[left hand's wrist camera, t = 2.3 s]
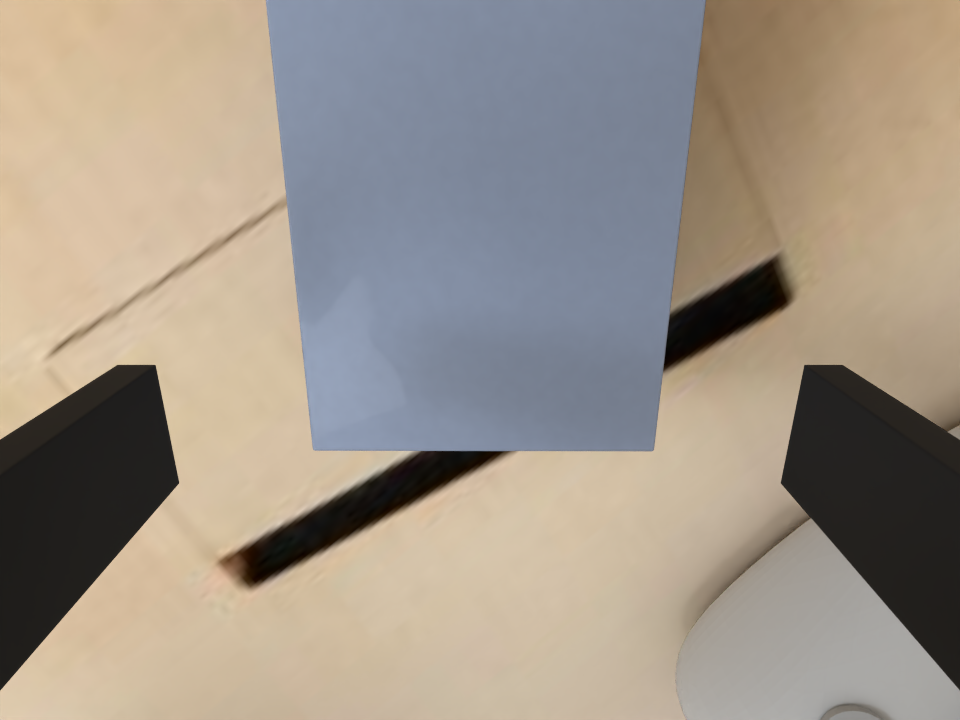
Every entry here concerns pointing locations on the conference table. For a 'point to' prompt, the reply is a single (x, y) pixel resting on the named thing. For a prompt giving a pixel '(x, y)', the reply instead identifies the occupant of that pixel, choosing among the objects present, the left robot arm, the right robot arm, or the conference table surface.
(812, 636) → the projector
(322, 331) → the cabinet
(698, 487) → the conference table surface
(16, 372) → the conference table surface
